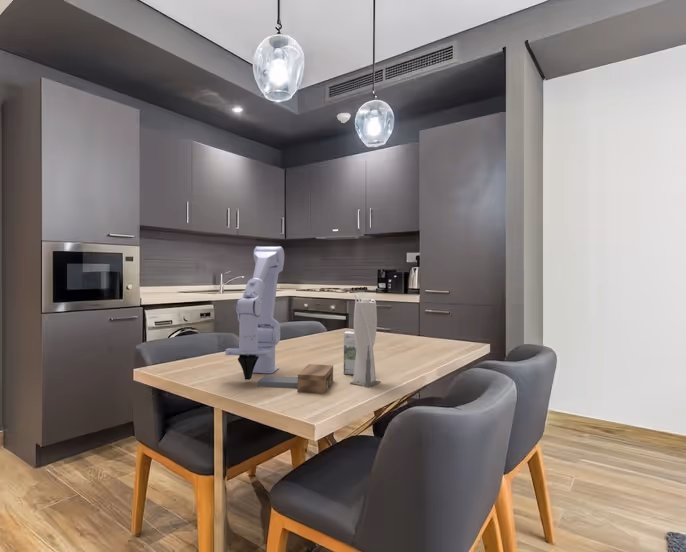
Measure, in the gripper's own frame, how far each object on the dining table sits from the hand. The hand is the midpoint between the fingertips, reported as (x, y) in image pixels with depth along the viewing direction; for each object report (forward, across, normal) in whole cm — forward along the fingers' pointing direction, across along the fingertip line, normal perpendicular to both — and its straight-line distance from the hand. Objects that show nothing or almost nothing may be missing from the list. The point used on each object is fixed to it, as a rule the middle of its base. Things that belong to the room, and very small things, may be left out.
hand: (248, 378), depth 128 cm
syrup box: (+1, +31, +18) cm, 36 cm away
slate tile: (+2, +11, 0) cm, 11 cm away
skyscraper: (+1, +36, +7) cm, 37 cm away
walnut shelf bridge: (+1, +22, 0) cm, 22 cm away
